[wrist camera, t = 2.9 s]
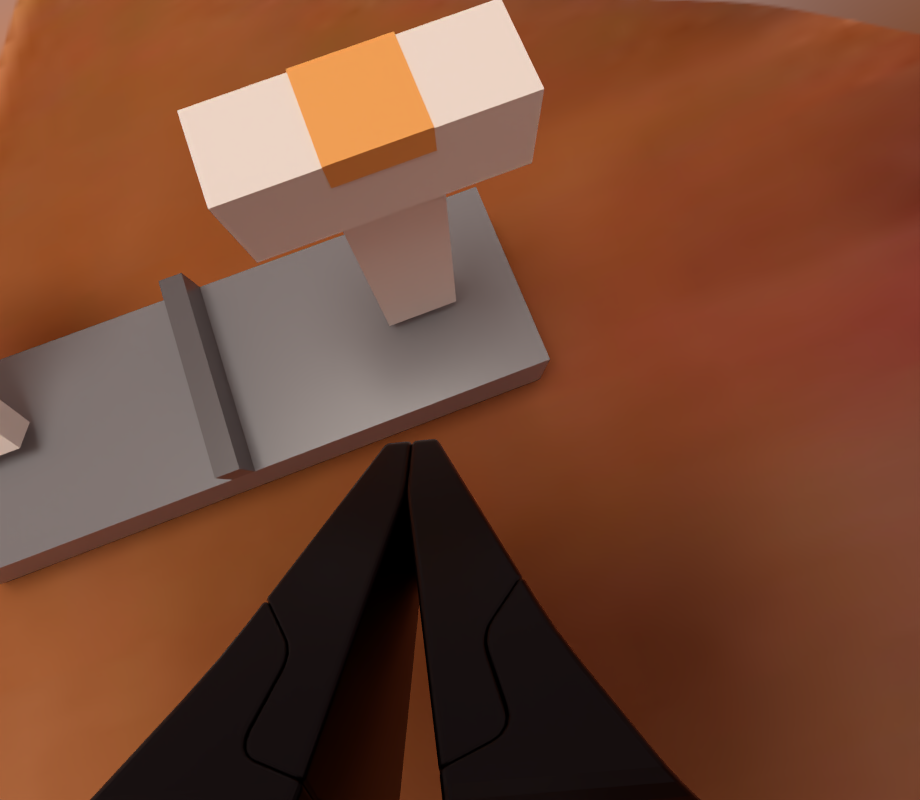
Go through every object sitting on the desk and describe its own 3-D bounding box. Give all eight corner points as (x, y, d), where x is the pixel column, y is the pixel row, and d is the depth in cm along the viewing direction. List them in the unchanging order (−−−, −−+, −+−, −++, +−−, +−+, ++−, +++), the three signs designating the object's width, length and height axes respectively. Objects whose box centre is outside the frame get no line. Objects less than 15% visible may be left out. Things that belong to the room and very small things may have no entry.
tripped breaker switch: (510, 293, 18) (545, 87, 9) (343, 355, 18) (206, 208, 9) (488, 241, 18) (500, -6, 9) (324, 302, 18) (175, 107, 9)
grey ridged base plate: (539, 379, 21) (555, 349, 17) (3, 583, 20) (-119, 604, 16) (475, 228, 22) (475, 166, 18) (-30, 414, 21) (-152, 393, 17)
